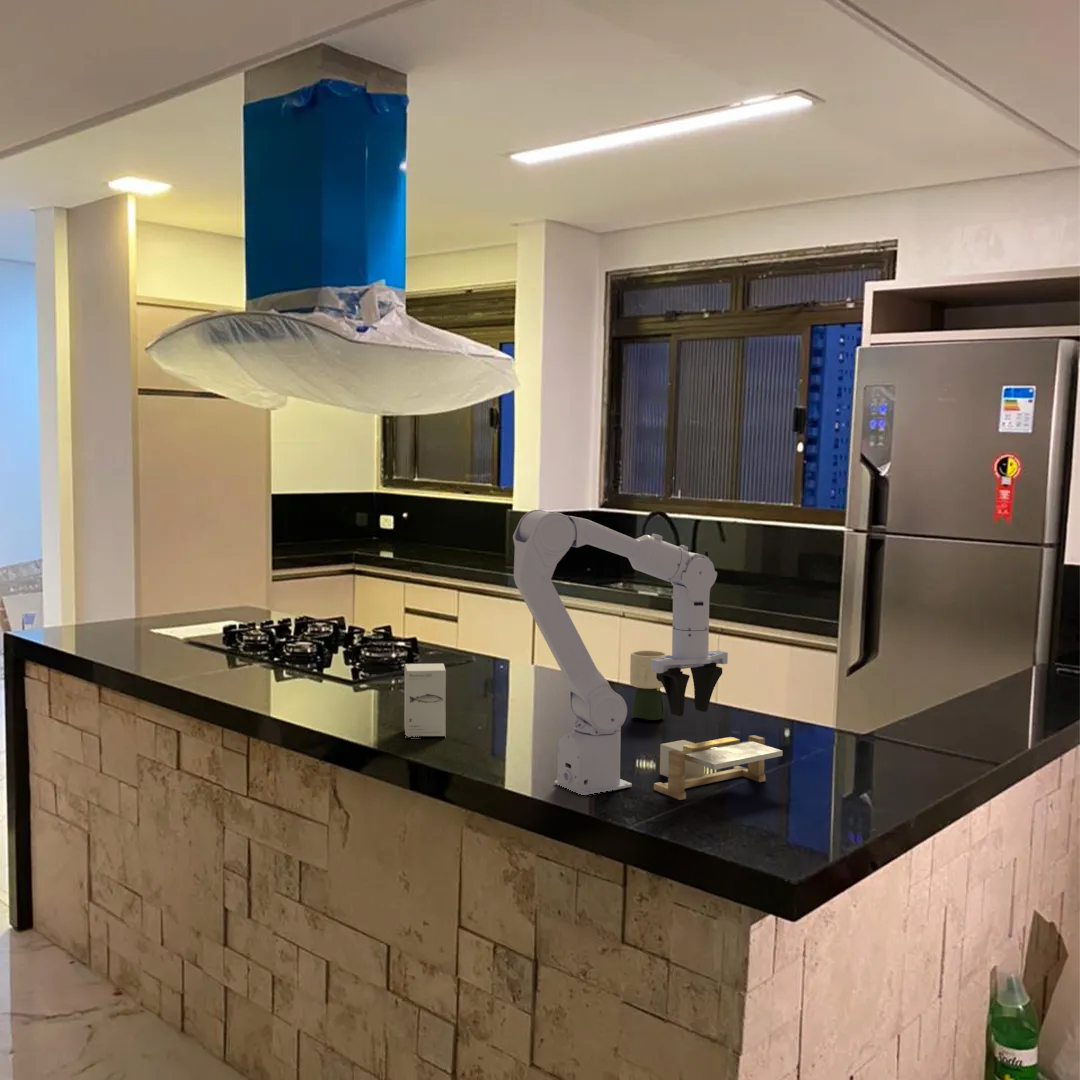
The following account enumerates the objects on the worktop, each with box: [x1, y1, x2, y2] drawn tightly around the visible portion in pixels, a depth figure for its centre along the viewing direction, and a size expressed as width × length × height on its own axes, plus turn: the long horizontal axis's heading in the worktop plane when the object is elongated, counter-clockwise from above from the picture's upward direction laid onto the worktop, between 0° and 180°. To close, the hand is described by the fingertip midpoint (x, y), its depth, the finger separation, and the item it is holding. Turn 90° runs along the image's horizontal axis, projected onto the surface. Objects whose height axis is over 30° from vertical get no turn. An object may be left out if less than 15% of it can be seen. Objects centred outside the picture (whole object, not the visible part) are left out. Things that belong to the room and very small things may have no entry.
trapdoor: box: [683, 736, 783, 771], centre depth 166 cm, size 14×9×2 cm, turn 124°
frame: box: [653, 734, 766, 801], centre depth 169 cm, size 18×6×7 cm, turn 124°
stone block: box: [659, 739, 705, 779], centre depth 175 cm, size 5×5×5 cm
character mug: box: [629, 650, 668, 722], centre depth 212 cm, size 11×7×13 cm, turn 160°
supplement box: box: [403, 663, 447, 737], centre depth 199 cm, size 7×7×13 cm
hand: (689, 712), depth 173 cm, fingers open, 5 cm apart
